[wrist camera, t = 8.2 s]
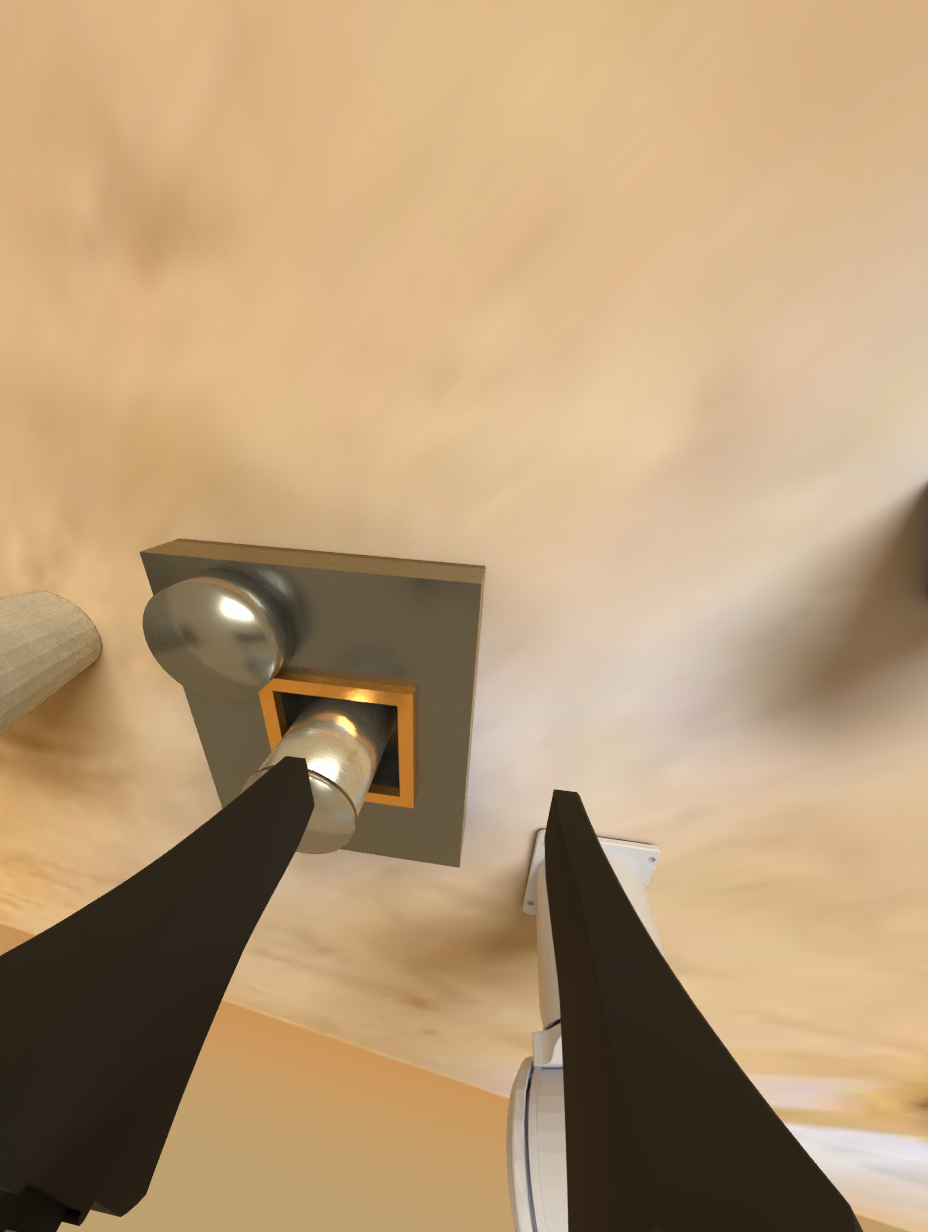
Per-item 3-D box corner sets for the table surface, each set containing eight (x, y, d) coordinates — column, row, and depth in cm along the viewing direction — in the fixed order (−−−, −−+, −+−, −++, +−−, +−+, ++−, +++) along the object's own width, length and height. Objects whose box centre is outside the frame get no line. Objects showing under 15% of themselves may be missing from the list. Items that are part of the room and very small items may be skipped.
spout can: (394, 750, 25) (339, 898, 17) (314, 734, 25) (223, 872, 17) (401, 684, 22) (341, 820, 15) (313, 666, 22) (207, 791, 15)
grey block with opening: (463, 833, 28) (455, 900, 24) (251, 802, 29) (209, 860, 25) (485, 566, 19) (477, 602, 15) (179, 538, 20) (98, 565, 16)
